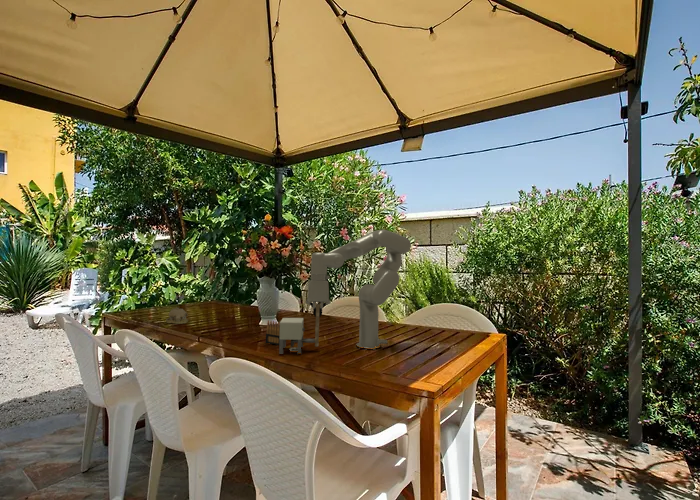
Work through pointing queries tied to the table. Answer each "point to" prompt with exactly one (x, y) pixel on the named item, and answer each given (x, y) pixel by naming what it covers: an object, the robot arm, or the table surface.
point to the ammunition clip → (273, 333)
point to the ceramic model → (177, 316)
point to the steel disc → (293, 349)
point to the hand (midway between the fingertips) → (317, 316)
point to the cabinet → (291, 332)
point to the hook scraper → (315, 330)
